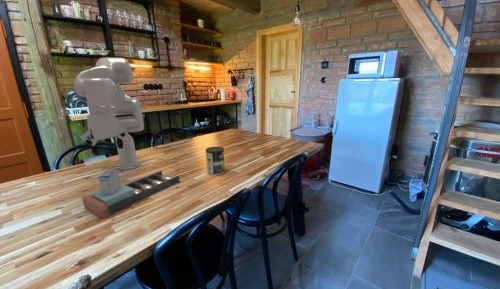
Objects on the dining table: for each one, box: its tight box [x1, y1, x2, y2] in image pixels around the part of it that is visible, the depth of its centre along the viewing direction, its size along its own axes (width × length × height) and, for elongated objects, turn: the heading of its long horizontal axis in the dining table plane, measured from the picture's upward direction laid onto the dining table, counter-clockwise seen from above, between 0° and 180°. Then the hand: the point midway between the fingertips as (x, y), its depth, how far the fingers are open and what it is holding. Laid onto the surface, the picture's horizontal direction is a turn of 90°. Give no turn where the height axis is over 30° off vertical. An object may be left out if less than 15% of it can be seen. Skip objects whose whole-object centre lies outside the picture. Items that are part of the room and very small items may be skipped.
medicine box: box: [98, 168, 122, 195], centre depth 94 cm, size 8×4×9 cm, turn 9°
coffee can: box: [205, 146, 226, 176], centre depth 127 cm, size 10×10×14 cm
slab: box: [90, 183, 136, 206], centre depth 95 cm, size 12×12×3 cm
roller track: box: [81, 170, 181, 219], centre depth 104 cm, size 15×38×5 cm, turn 148°
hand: (108, 151), depth 93 cm, fingers open, 9 cm apart
